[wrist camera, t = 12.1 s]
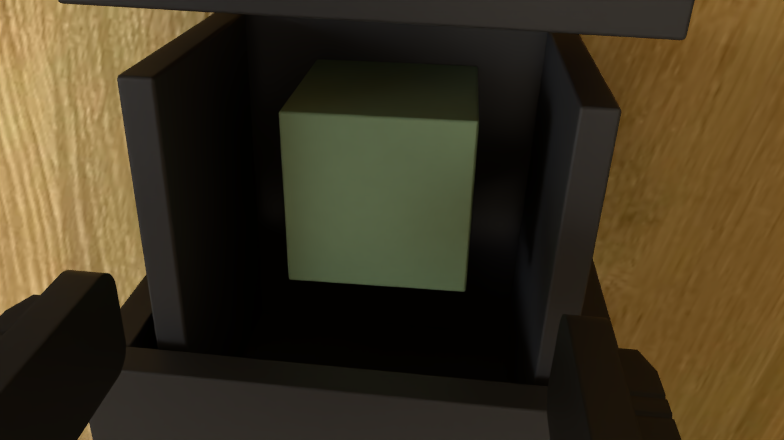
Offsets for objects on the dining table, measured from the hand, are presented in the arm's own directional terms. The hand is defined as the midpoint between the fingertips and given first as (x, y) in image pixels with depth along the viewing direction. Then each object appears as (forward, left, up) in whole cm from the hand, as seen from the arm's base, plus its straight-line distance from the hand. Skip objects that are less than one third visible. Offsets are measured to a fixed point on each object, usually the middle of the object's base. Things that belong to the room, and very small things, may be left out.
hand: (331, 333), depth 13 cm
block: (0, 0, -10) cm, 10 cm away
